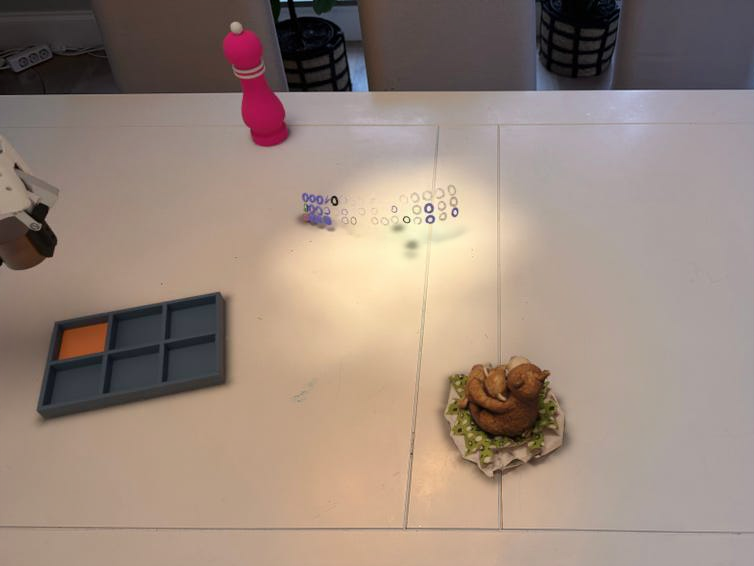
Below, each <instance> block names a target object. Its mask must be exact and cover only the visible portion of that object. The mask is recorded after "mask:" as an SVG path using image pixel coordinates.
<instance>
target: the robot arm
mask: <svg viewBox="0 0 754 566" xmlns="http://www.w3.org/2000/svg"><path fill="white" fill-rule="evenodd" d="M60 191H61V190H60V189H59V188H58V187H56V186H54V185H52V184H50V183H48V182H46V181H44V180H42V179H39V178H37V177H36V176H34V174H33V173H32V171H31V170H30V168H29V166H28V165H27V164H26V163H25V162H24V160H23V159H22V158H21V157H20V155H19V154H18V153H17V151H16V149H14V148H13V147H12V145H11V144H10V143H9V142H8V140H7V139H6V138H5V137H4V136H3V135H2V134H1V133H0V216H1V215H7V214H11V215H12V216H15V217H17V218H18V219H19V220H20V221H21V222H23V223H24V224H25V225H26V226H28V227H29V232H28V234H29V236H30V237H31V239H32V240H33V241H34V243H35V244H36V245H37V247H38V248H39V249H40V251H41V252H42V253H43V255H44V256H45V257H47V258H46V259H49V258H53V257H54V254H55V249H56V246H58V238H57V236H56V234H55V232H54V231H53V229H52V228H51V227H50V225H49V224H48V222H47V221H46V218H47V216H48V214H49V211H50V210H51V209H52V208H53V207H54V205H55V204H56V203H57V201H58V199H59V196H60ZM28 192H29V193H31V194H33V195H36V196H37V197H39V198H37V201H36V202H35V201H34V200H33V199H32V198H31V197H29V196H28V195H29V193H28ZM3 264H4V262H3V261H2V260H1V259H0V267H2V265H3Z"/></svg>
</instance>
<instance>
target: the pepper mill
mask: <svg viewBox="0 0 754 566" xmlns="http://www.w3.org/2000/svg"><path fill="white" fill-rule="evenodd" d="M229 28H230V32H229V33H228V34H226V36H225V37H224V39H223V42H222V50H223V55H224V56H225V58H226V60H227V61H228V62H229V63H230V64H231V68H232V70H233V74H234V75H235V76H236V77H237V78H238V80H239V81H240V85H241V88H242V98H241V107H240V112H241V117H242V118H241V119H242V121H243V123H244V125H245V127H247V128H249V133H250V136H251V139H252V141H253V143H254V144H255V145H257V146H260V147H273V146H277V145H280V144H281V143H283V142H284V141H286V140H287V138H288V136H289V130H288V127H287V124H286V122H285V119H286V109H285V106H284V104H283V102H282V101H281V99H280V98H279V97H278V95H277V94H275V92H274V91H273V89H272V88H271V87H270V86H269V84H268V82H267V79H266V77H265V72H266V65H265V60H264V59H263V58H262V57H263V54H264V48H263V43H262V41H261V39H260V38H259V37H258V35H256V34H255V33H254V32H252V31H250V30H248V29H244V28H243V25H242V24H241V23H240V22H239V21H233V22H231V23H230V27H229Z"/></svg>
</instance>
